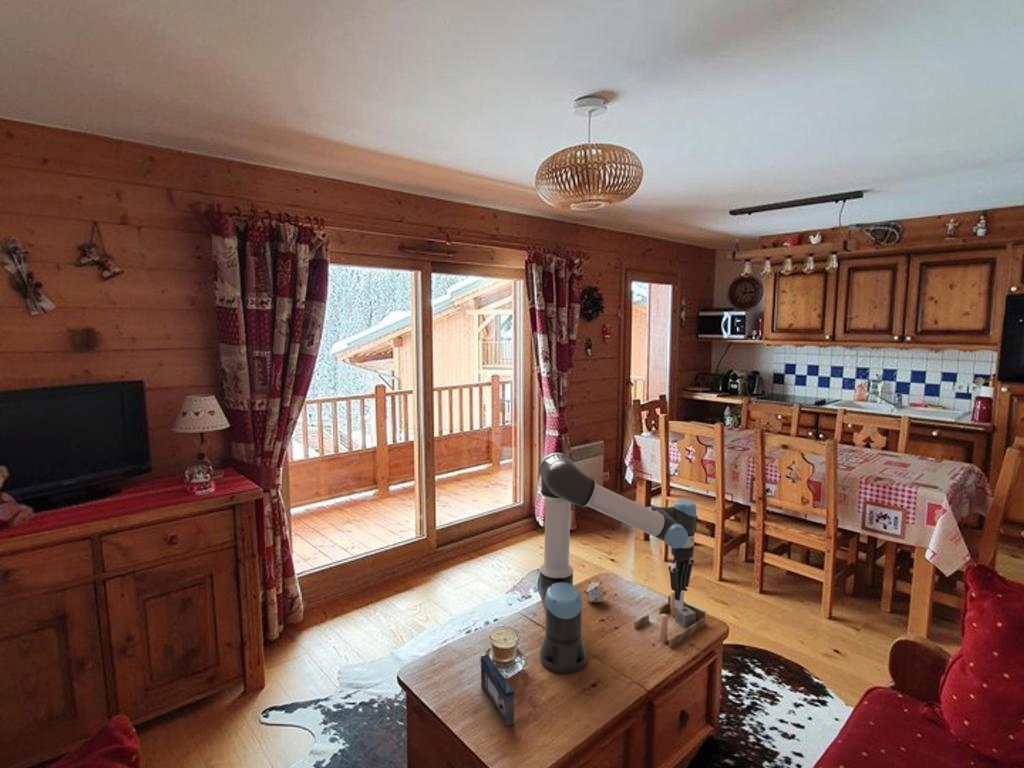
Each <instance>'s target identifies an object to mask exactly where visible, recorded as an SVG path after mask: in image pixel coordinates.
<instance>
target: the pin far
mask: <svg viewBox="0 0 1024 768" xmlns="http://www.w3.org/2000/svg"><path fill="white" fill-rule="evenodd" d="M669 593H670V595H669V596H670V602H671V610H670V616H672V617H675V610H676V609H677V608H676V607H674V601H675V591H674V590H670V592H669Z"/></svg>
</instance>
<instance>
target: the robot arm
mask: <svg viewBox="0 0 1024 768" xmlns="http://www.w3.org/2000/svg"><path fill="white" fill-rule="evenodd" d="M539 474H540V475H539V476H540V477H541V478H540V479H541V481H540V482H541V484H540V486H541V488H540V490H541V491H540V494H541V495H542V497H544V498H545V501H544V502H545V509H544V510H545V512H544V515H545V516H544V561H543V564H542V565H540V568H539V575H538V578H537V583H536V584H537V585H536V587H537V591H538V594H539V596H540V599H541V603H542V606H543V610H544V613H545V635H544V638H543V641H542V643H541V647H540V651H539V659H540V663H541V664H542V665H543V667H544V668H546V669H547V670H549V671H551V672H554V673H557V674H572V673H576V672H579V671H581V670H583V669H584V667H586V664H587V651H586V650H587V649H586V648H585V645H584V641H583V638H582V626H583V625H582V620H583V619H582V617H583V615H582V614H583V612H582V610H583V599H582V598H583V597H582V592H581V591H580V589H579V588H578V587H577V586H576V585H574V569H573V567H572V566H571V565H570V539H571V538H570V536H571V533H570V532H571V531H570V529H571V503H572V504H573V505H574V504H575V505H577V506H578V507H581V508H586V507H588V508H591V509H593V510H596V511H597V512H599V513H602V514H604V515H607V516H608V517H610V518H613V519H615V520H617V521H620V522H622V523H624V524H626V525H628V526H630V527H632V528H634V529H637V530H639V531H641V532H643V533H645V534H648V535H650V536H652V537H655V539H658V540H661V541H663V542H664V543H665V544H666V545H667V546H669V547H670V548H671V549H670V550H671V555H672V556H673V560H672V565H669V566H668V571H669V578H670V589H671V590H674V591H675V601H674V607H676V608H678V609H680V610H681V609H683V602H685V601H684V600H685V599H684V598H685V597H684V596H685V592H688V587H689V585H690V580H691V575H692V570H693V566H694V563H695V559H692V558H693V557H694V550H695V546H694V545H695V541H696V539H695V535H696V534H695V533H696V522H697V505H696V503H694V502H693V501H691V500H687V499H678V500H675V501H674V503H673V506H644V505H643V504H640V503H638V502H635V501H633V500H632V499H629V498H627V497H625V496H623V495H621V494H618V493H616V492H614V491H613V490H610V489H608V488H606V487H603V486H601V485H600V484H597V482H596V479H594V478H592V477H590V476H588V475H587V474H585V473H584V472H582V471H581V470H580V469H579V468H578V467H577V466H576V464H575V463H574V462H573V460H572V459H571V458H570V457H569V456H568V455H566V454H564V453H563V452H552V453H550V454H549V453H548V455H546V456H545V457H544V458H543V459H542V460H541V462H540V464H539ZM671 590H670V591H671Z"/></svg>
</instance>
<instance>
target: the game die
mask: <svg viewBox="0 0 1024 768" xmlns="http://www.w3.org/2000/svg"><path fill="white" fill-rule="evenodd" d="M602 583H603V581H600V582H590V580H588V585H587V588H586V590H584V594H586V595H587V599H588V604H590V603H600V604H601V605H603V602H602V601H603V599H604V597H605V595H607V592H606V591H605V590H604V587H603V584H602Z"/></svg>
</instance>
